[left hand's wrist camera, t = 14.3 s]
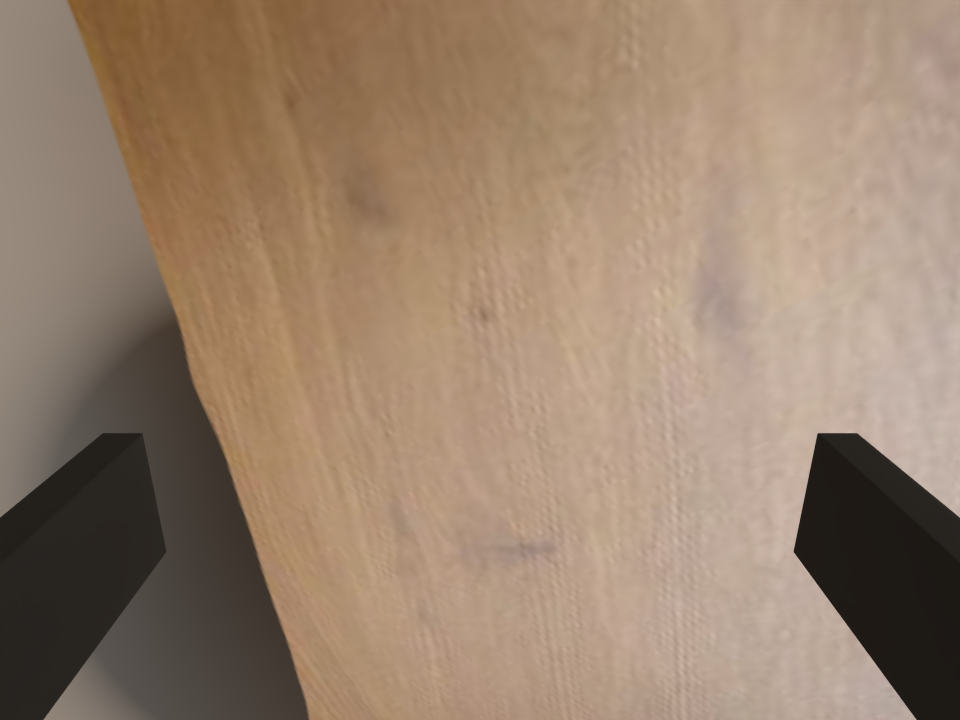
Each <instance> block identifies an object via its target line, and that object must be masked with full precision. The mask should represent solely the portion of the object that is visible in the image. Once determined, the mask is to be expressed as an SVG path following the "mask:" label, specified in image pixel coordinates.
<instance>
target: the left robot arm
mask: <svg viewBox="0 0 960 720" xmlns="http://www.w3.org/2000/svg"><path fill="white" fill-rule="evenodd" d="M165 553H166V548H165V543H164V538H163V533H162V528H161V523H160V518H159V513H158V508H157V503H156V498H155V494H154V489H153V484H152V479H151V474H150V469H149V464H148V459H147V454H146V449H145V444H144V439H143V434H142V433H103V434H102V435H100V436H99V437H98V438H97V439H95V440H94V441H93V442H92V443H91V444H89V445H88V446H87V447H86V448H84V449H83V450H82V451H81V452H80V453H78V454H77V455H76V456H75V457H74V458H72V459H71V460H70V461H69V462H67V463H66V464H65V465H64V466H63V467H61V468H60V469H59V470H58V471H56V472H55V473H54V474H53V475H52V476H50V477H49V478H48V479H47V480H46V481H44V482H43V483H42V484H41V485H39V486H38V487H37V488H36V489H35V490H33V491H32V492H31V493H30V494H28V495H27V496H26V497H25V498H24V499H22V500H21V501H20V502H19V503H18V504H16V505H15V506H14V507H13V508H11V509H10V510H9V511H8V512H7V513H5V514H4V515H3V516H2V517H0V720H43V719H44V718H45V717H46V715H47V714H48V713H49V711H50V710H51V709H52V707H53V706H54V704H55V703H56V702H57V700H58V699H59V698H60V696H61V695H62V694H63V692H64V691H65V689H66V688H67V687H68V685H69V684H70V683H71V681H72V680H73V678H74V677H75V676H76V674H77V673H78V672H79V670H80V669H81V668H82V666H83V665H84V663H85V662H86V661H87V659H88V658H89V657H90V655H91V654H92V653H93V651H94V650H95V648H96V647H97V646H98V644H99V643H100V642H101V640H102V639H103V638H104V636H105V635H106V633H107V632H108V631H109V629H110V628H111V627H112V625H113V624H114V623H115V621H116V620H117V618H118V617H119V616H120V614H121V613H122V612H123V610H124V609H125V607H126V606H127V605H128V603H129V602H130V601H131V599H132V598H133V597H134V595H135V594H136V593H137V591H138V590H139V588H140V587H141V586H142V584H143V583H144V582H145V580H146V579H147V577H148V576H149V575H150V573H151V572H152V571H153V569H154V568H155V567H156V565H157V564H158V562H159V561H160V560H161V558H162V557H163V556H164V554H165ZM794 553H795V554H796V556H797V557H798V558H799V560H800V561H801V562H802V564H803V565H804V567H805V568H806V569H807V571H808V572H809V573H810V575H811V576H812V577H813V579H814V580H815V582H816V583H817V584H818V586H819V587H820V588H821V590H822V591H823V593H824V594H825V595H826V597H827V598H828V599H829V601H830V602H831V603H832V605H833V606H834V608H835V609H836V610H837V612H838V613H839V614H840V616H841V617H842V618H843V620H844V621H845V623H846V624H847V625H848V627H849V628H850V629H851V631H852V632H853V633H854V635H855V636H856V638H857V639H858V640H859V642H860V643H861V644H862V646H863V647H864V648H865V650H866V651H867V653H868V654H869V655H870V657H871V658H872V659H873V661H874V662H875V663H876V665H877V666H878V668H879V669H880V670H881V672H882V673H883V674H884V676H885V677H886V678H887V680H888V681H889V683H890V684H891V685H892V687H893V688H894V689H895V691H896V692H897V694H898V695H899V696H900V698H901V699H902V700H903V702H904V703H905V704H906V706H907V707H908V709H909V710H910V711H911V713H912V714H913V715H914V717H915V718H916V719H917V720H960V517H958V516H957V515H956V514H955V513H953V512H952V511H951V510H950V509H949V508H947V507H946V506H945V505H944V504H942V503H941V502H940V501H939V500H938V499H936V498H935V497H934V496H933V495H932V494H930V493H929V492H928V491H927V490H925V489H924V488H923V487H922V486H921V485H919V484H918V483H917V482H916V481H914V480H913V479H912V478H911V477H910V476H908V475H907V474H906V473H905V472H904V471H902V470H901V469H900V468H899V467H897V466H896V465H895V464H894V463H893V462H891V461H890V460H889V459H888V458H886V457H885V456H884V455H883V454H882V453H880V452H879V451H878V450H877V449H876V448H874V447H873V446H872V445H871V444H869V443H868V442H867V441H866V440H865V439H863V438H862V437H861V436H860V435H858V434H857V433H818V434H817V439H816V444H815V449H814V454H813V459H812V464H811V469H810V474H809V479H808V484H807V489H806V493H805V498H804V503H803V508H802V513H801V518H800V523H799V528H798V533H797V538H796V543H795V548H794Z"/></svg>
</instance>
